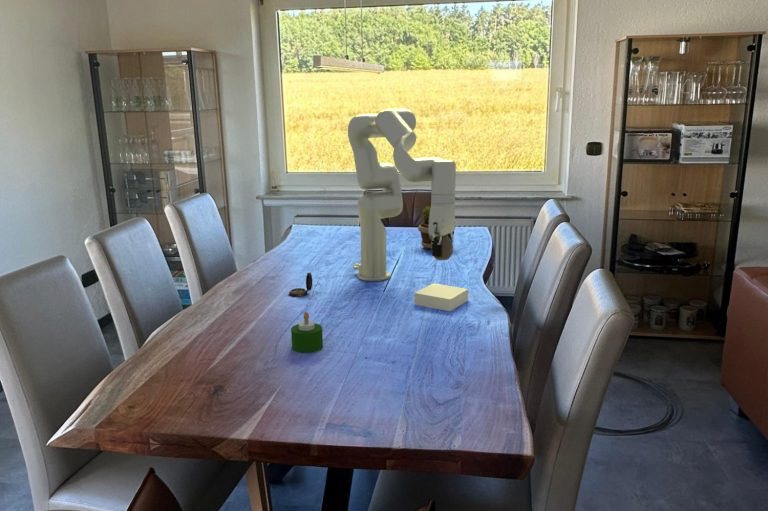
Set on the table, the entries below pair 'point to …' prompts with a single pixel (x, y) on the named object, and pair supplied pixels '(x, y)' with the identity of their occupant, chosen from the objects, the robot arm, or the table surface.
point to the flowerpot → (425, 229)
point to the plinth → (441, 297)
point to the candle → (306, 336)
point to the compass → (299, 290)
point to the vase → (445, 248)
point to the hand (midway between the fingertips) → (442, 253)
